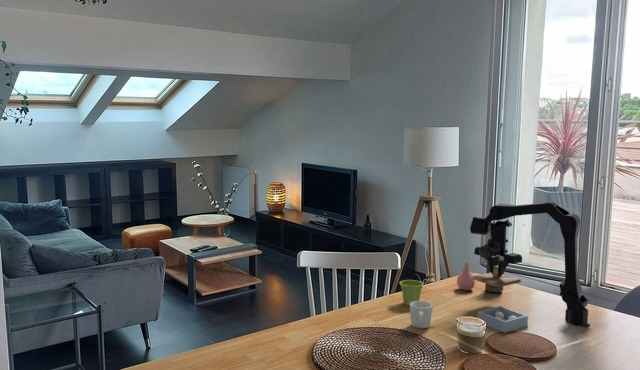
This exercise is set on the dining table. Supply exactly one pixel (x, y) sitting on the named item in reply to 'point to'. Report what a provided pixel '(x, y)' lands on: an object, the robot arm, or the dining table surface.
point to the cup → (420, 314)
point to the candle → (491, 287)
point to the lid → (496, 278)
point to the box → (503, 324)
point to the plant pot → (411, 291)
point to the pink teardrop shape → (465, 279)
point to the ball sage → (499, 315)
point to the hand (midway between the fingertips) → (496, 276)
